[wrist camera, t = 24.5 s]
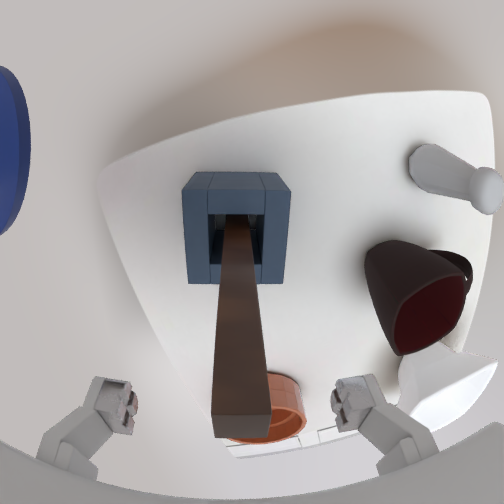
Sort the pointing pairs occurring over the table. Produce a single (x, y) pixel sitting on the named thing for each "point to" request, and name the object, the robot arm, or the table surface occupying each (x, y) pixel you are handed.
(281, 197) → the box
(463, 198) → the salt shaker
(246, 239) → the stirring stick
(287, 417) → the terracotta round dish
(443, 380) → the bowl
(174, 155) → the table surface
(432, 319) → the mug
